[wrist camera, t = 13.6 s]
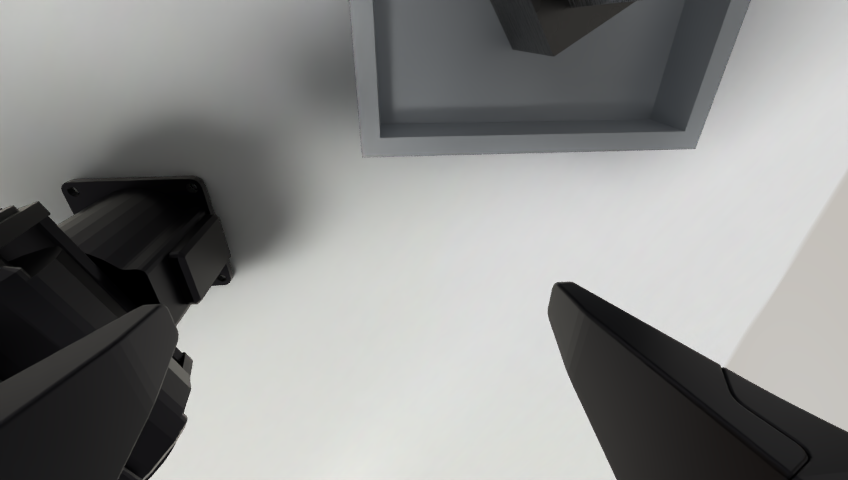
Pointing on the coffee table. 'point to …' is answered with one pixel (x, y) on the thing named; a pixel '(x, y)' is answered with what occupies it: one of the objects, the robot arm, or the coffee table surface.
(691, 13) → the bin
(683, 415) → the robot arm
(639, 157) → the coffee table surface
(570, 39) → the strut
